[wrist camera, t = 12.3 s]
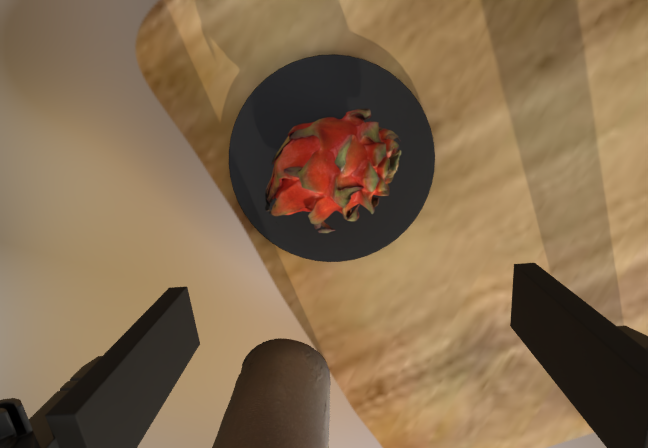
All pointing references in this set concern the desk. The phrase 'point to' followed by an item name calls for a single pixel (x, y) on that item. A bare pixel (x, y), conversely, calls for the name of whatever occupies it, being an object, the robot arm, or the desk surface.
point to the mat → (335, 101)
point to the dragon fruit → (333, 168)
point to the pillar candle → (279, 399)
